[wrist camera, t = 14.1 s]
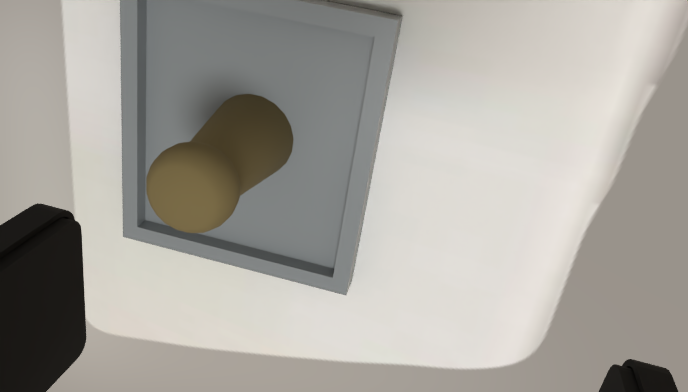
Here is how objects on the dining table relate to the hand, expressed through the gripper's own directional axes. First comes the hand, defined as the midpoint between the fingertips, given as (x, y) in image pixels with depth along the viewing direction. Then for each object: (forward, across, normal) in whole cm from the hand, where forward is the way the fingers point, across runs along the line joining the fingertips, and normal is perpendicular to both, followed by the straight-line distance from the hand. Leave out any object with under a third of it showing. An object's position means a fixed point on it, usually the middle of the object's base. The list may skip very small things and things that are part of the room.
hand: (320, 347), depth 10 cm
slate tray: (+30, +12, +9) cm, 34 cm away
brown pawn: (+30, +12, +9) cm, 33 cm away
